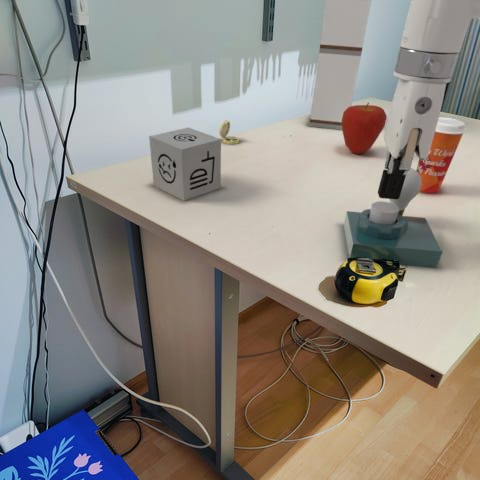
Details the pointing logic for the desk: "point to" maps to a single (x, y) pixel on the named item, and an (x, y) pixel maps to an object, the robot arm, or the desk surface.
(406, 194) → the light bulb
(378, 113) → the apple
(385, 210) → the grey push button
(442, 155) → the paper cup
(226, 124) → the eyeshadow
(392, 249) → the teal button base
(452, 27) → the robot arm
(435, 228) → the desk surface
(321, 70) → the tall brown-striped box
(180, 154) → the icon cube
